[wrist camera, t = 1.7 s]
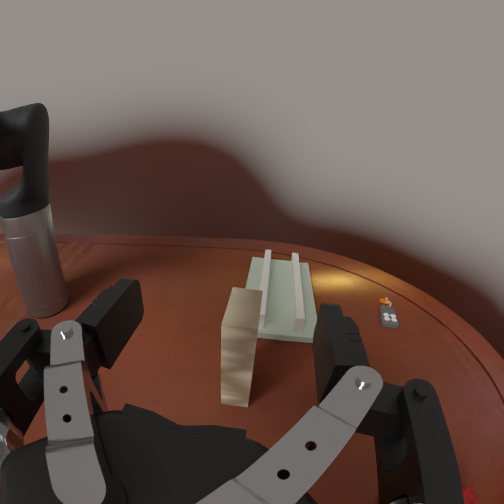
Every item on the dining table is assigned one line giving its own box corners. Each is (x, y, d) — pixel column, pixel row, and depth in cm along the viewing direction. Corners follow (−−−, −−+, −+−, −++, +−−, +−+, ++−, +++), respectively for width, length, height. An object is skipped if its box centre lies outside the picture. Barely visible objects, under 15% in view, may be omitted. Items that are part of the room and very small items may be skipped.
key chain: (399, 331, 41) (402, 324, 40) (379, 328, 42) (382, 321, 41) (389, 293, 52) (391, 287, 52) (373, 290, 53) (375, 284, 52)
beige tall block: (221, 403, 27) (221, 324, 22) (229, 366, 33) (232, 287, 28) (247, 407, 27) (257, 329, 22) (253, 369, 32) (262, 290, 27)
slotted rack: (318, 343, 37) (323, 325, 36) (235, 334, 38) (236, 316, 37) (307, 267, 59) (309, 252, 58) (252, 261, 60) (253, 246, 58)
